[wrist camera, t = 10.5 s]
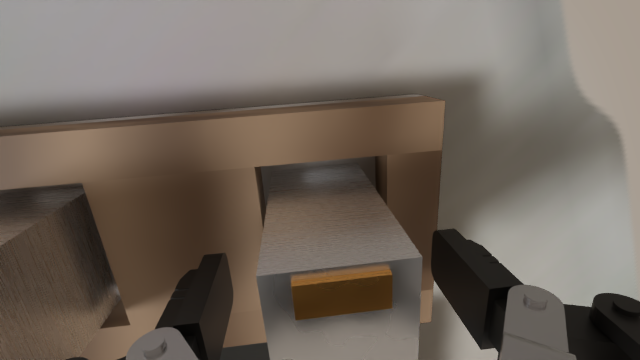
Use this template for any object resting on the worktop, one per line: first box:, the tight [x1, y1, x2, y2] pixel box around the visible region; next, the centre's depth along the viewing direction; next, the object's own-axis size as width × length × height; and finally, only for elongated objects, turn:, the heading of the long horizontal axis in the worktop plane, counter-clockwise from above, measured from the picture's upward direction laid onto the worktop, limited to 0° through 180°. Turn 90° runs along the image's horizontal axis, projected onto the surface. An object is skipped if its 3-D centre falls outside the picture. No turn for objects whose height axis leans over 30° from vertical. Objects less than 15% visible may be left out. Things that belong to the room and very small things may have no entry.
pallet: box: [0, 94, 445, 360], centre depth 15 cm, size 22×11×3 cm, turn 94°
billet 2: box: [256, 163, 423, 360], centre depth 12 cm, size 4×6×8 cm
